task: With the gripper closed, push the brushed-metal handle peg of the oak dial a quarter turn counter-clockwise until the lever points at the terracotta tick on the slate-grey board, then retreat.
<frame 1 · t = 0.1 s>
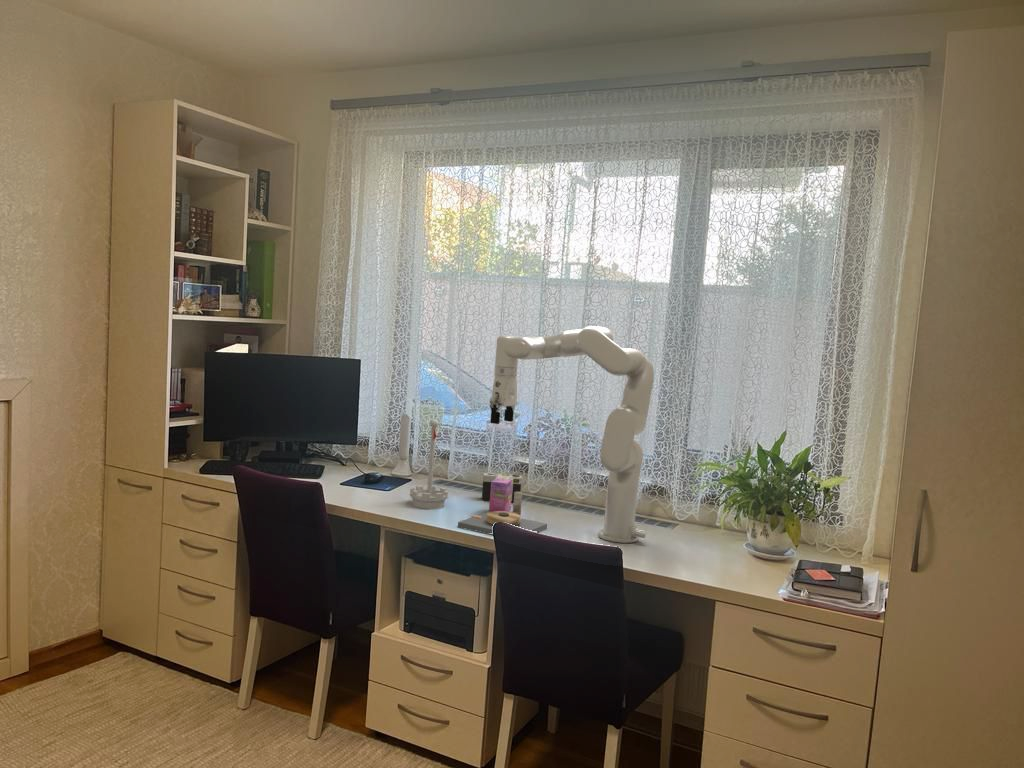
hand: (501, 422, 273), 31 cm above the table, fingers open, 9 cm apart
board: (502, 527, 256), on the table
camera: (500, 502, 292), on the table
box: (499, 513, 275), on the table
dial: (507, 508, 258), point 6 cm above the table, hinge at -90.0°
flag stand: (428, 505, 279), on the table
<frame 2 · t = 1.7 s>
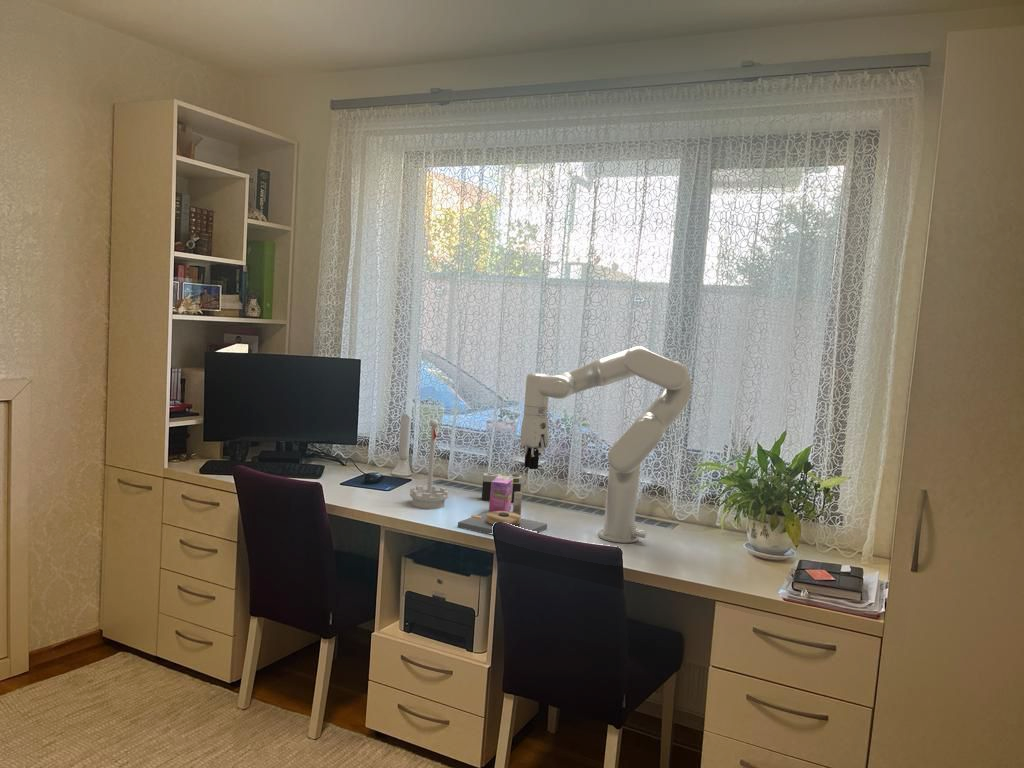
hand: (531, 467, 259), 19 cm above the table, fingers closed
nothing on the table moved.
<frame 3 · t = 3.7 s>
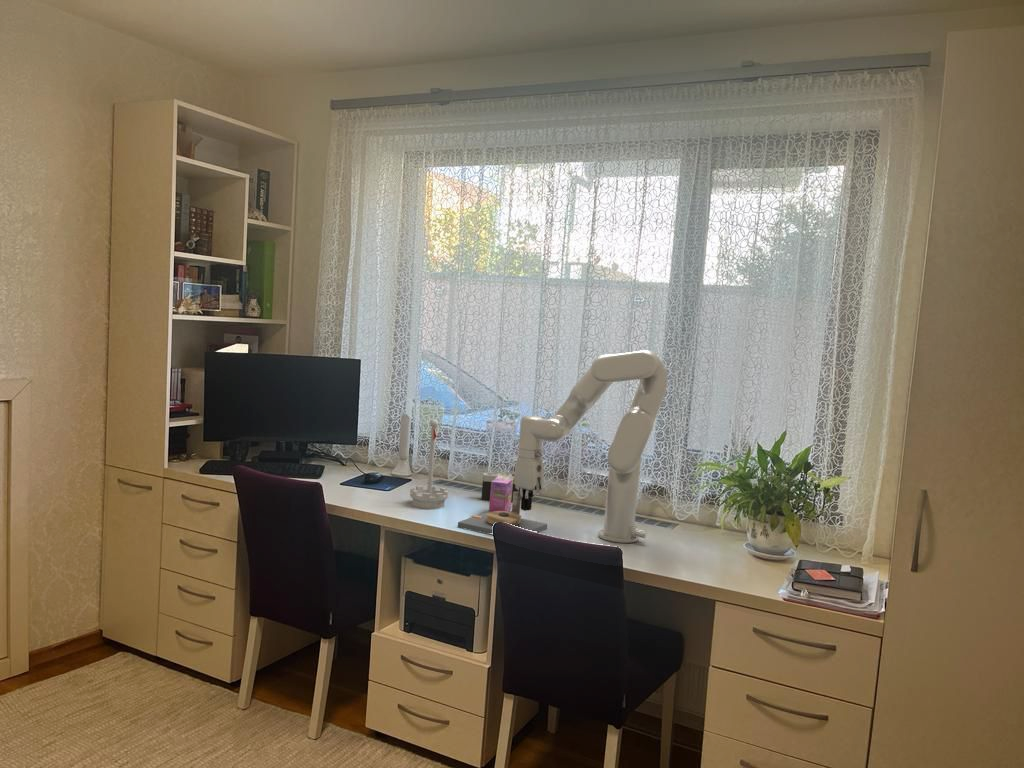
hand: (525, 509, 261), 5 cm above the table, fingers closed
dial: (507, 507, 258), point 6 cm above the table, hinge at -87.4°, touching gripper
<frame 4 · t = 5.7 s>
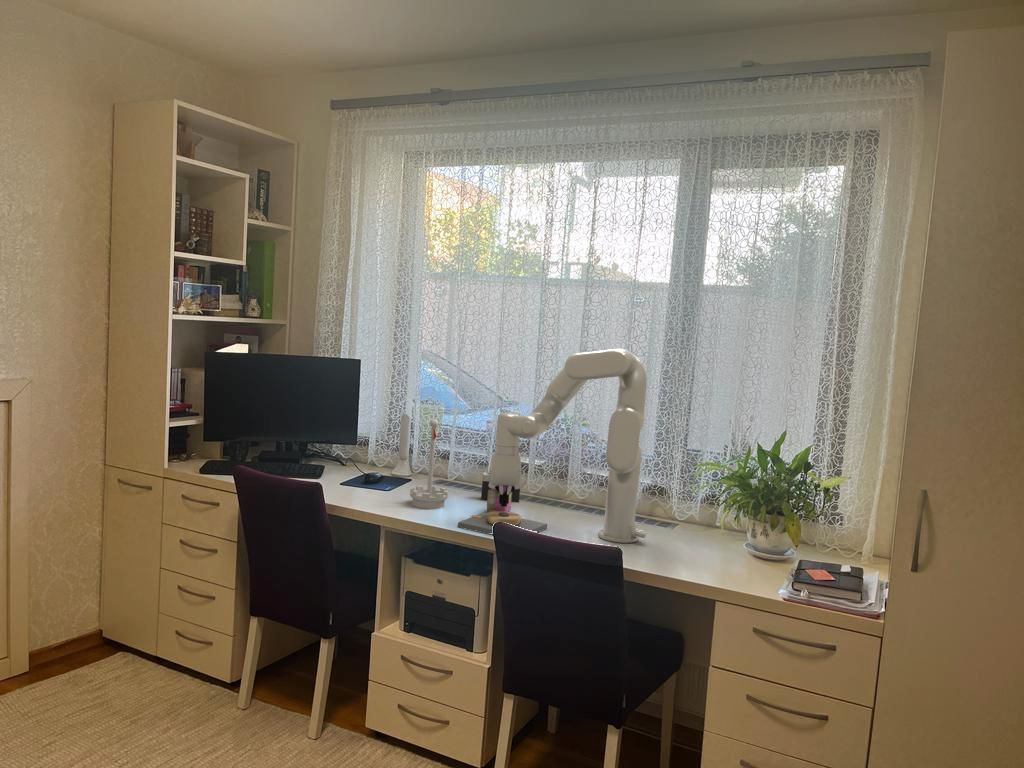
hand: (503, 505, 264), 5 cm above the table, fingers closed
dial: (500, 507, 258), point 6 cm above the table, hinge at -32.7°, touching gripper
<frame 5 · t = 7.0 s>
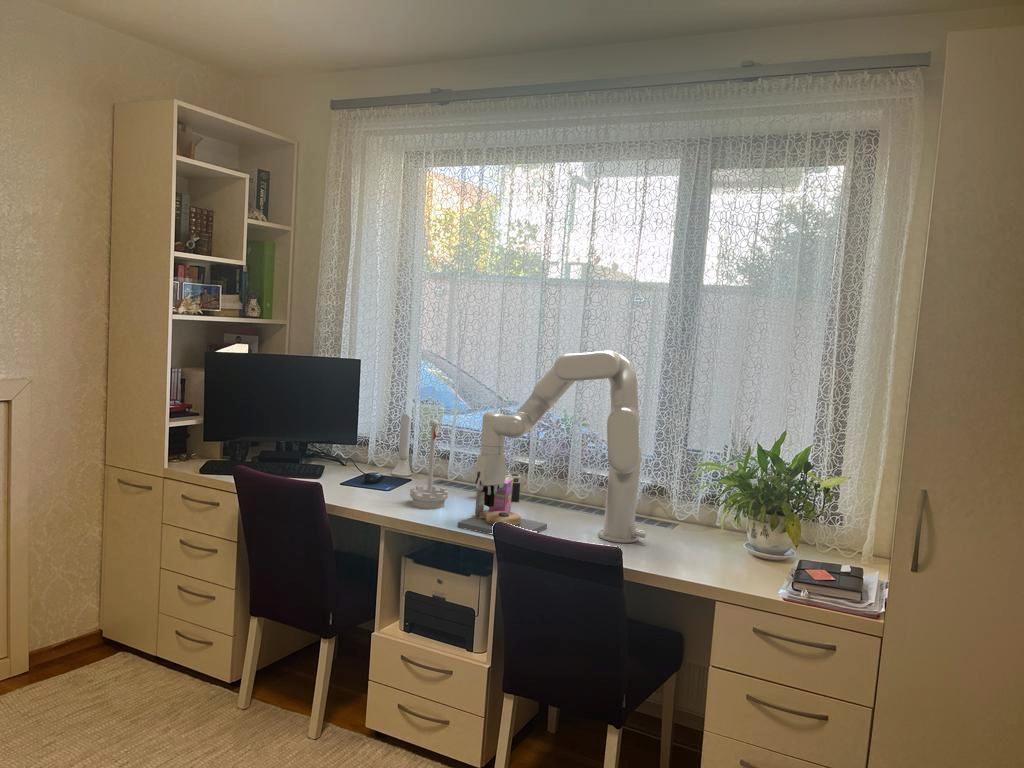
hand: (488, 505, 263), 5 cm above the table, fingers closed
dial: (497, 507, 257), point 6 cm above the table, hinge at 0.3°, touching gripper
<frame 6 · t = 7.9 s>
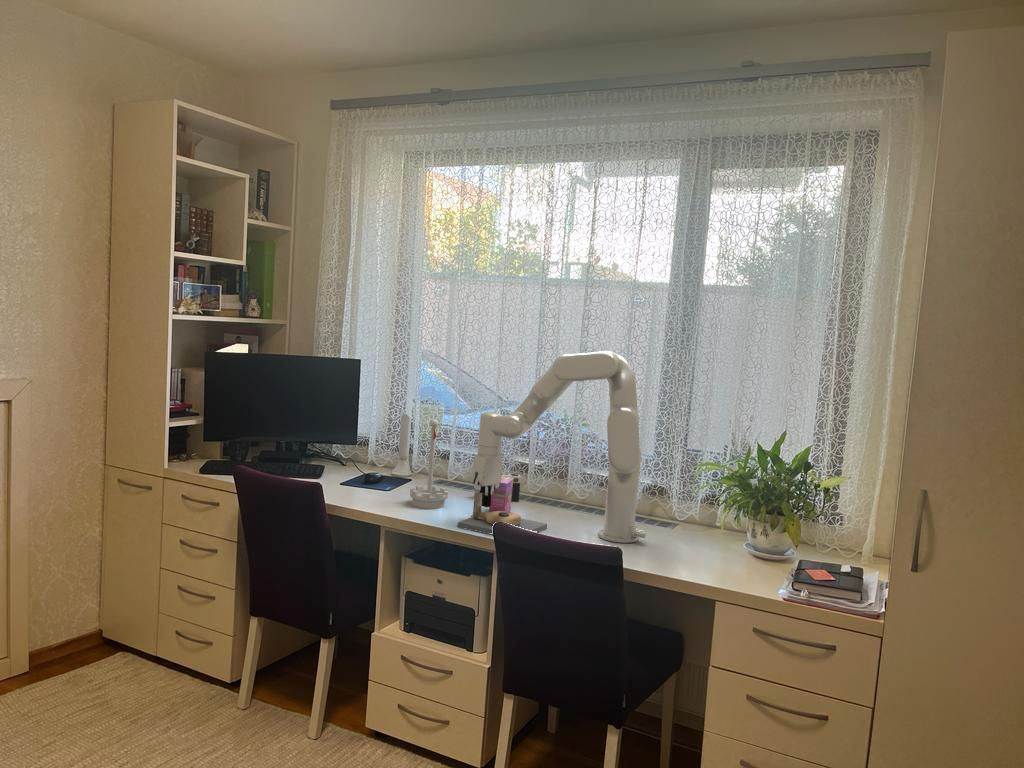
hand: (485, 506, 262), 5 cm above the table, fingers closed
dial: (497, 508, 256), point 6 cm above the table, hinge at 11.1°
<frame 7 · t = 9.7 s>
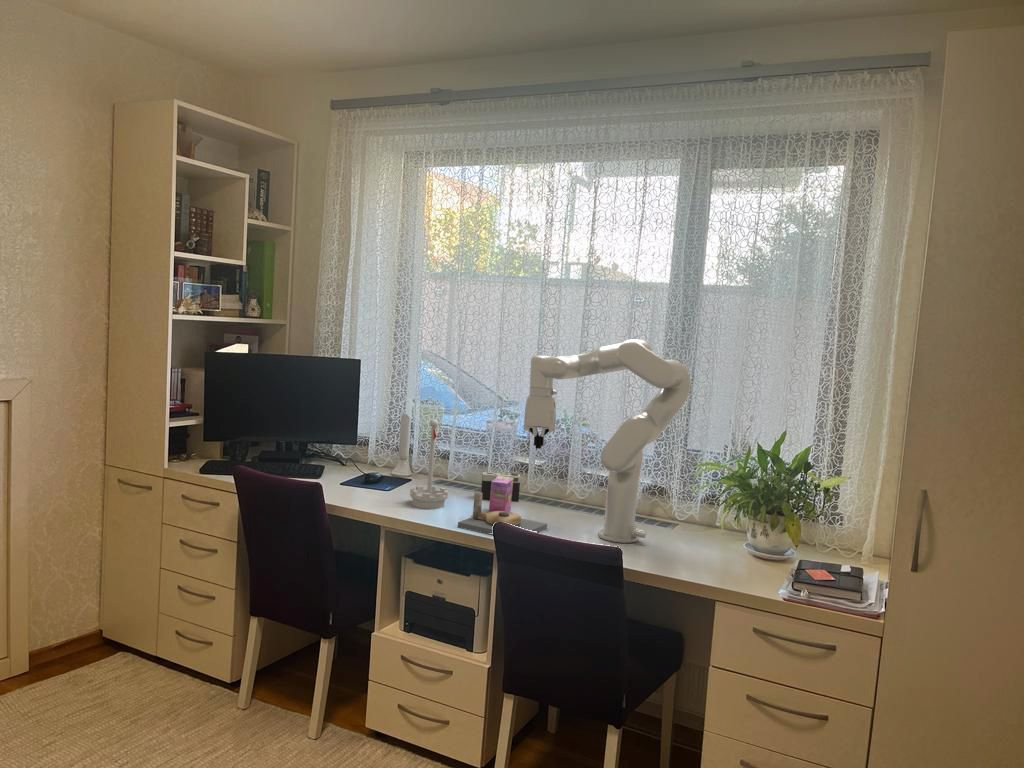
hand: (538, 447, 266), 25 cm above the table, fingers closed
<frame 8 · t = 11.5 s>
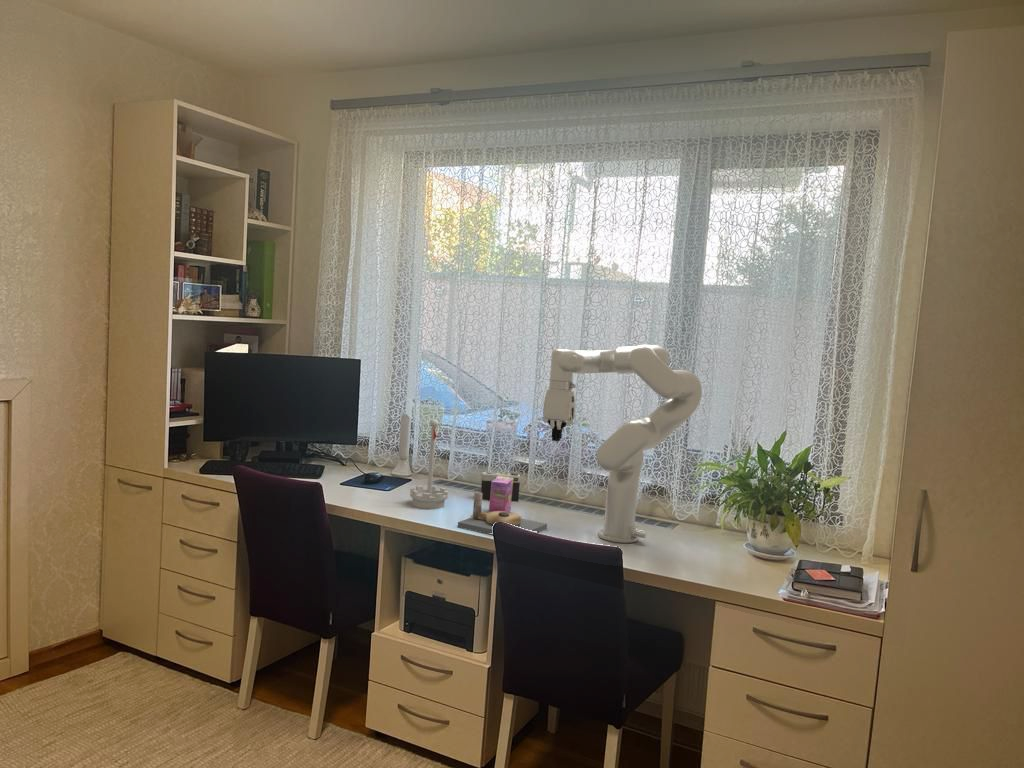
hand: (556, 440, 268), 27 cm above the table, fingers closed
at the end: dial at +11° (first picture: -90°) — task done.
